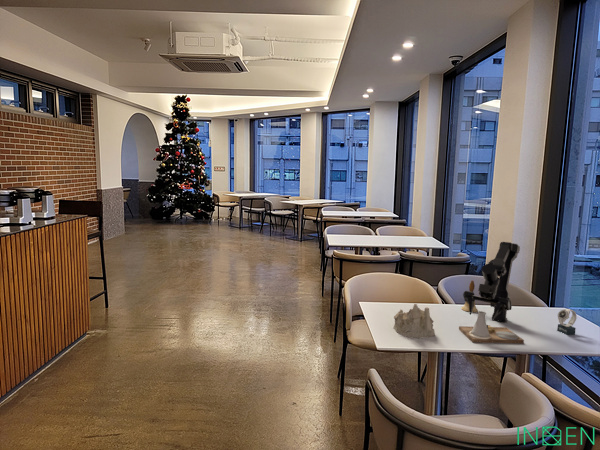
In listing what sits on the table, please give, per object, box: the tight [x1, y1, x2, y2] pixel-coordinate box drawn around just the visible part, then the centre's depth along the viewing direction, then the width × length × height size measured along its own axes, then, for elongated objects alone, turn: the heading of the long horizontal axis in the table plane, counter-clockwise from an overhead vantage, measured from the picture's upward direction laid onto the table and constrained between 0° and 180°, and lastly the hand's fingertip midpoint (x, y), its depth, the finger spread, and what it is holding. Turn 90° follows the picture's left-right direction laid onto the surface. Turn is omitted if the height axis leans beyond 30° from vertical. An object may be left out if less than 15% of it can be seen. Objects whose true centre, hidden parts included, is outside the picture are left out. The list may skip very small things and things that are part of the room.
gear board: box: [458, 324, 525, 345], centre depth 186 cm, size 15×22×4 cm
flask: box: [471, 310, 490, 337], centre depth 183 cm, size 7×7×10 cm
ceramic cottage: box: [393, 303, 436, 339], centre depth 189 cm, size 16×16×15 cm
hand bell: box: [461, 280, 479, 313], centre depth 222 cm, size 8×8×16 cm
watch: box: [556, 308, 578, 336], centre depth 193 cm, size 6×8×11 cm
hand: (481, 316), depth 182 cm, fingers open, 9 cm apart
